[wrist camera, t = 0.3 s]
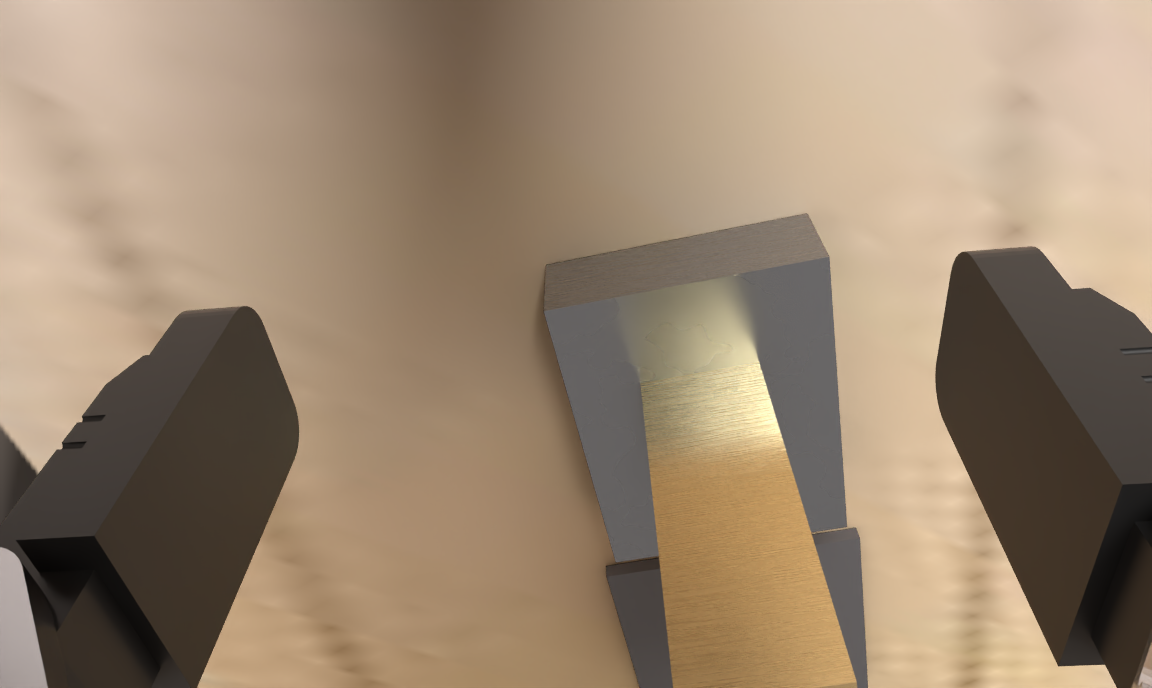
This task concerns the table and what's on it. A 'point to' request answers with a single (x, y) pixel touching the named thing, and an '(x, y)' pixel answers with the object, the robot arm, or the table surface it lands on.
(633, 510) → the grey metal rectangular block
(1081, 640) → the robot arm
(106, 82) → the table surface
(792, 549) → the tall wooden pillar
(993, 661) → the table surface
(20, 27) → the table surface
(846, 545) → the flat gray metal plate
